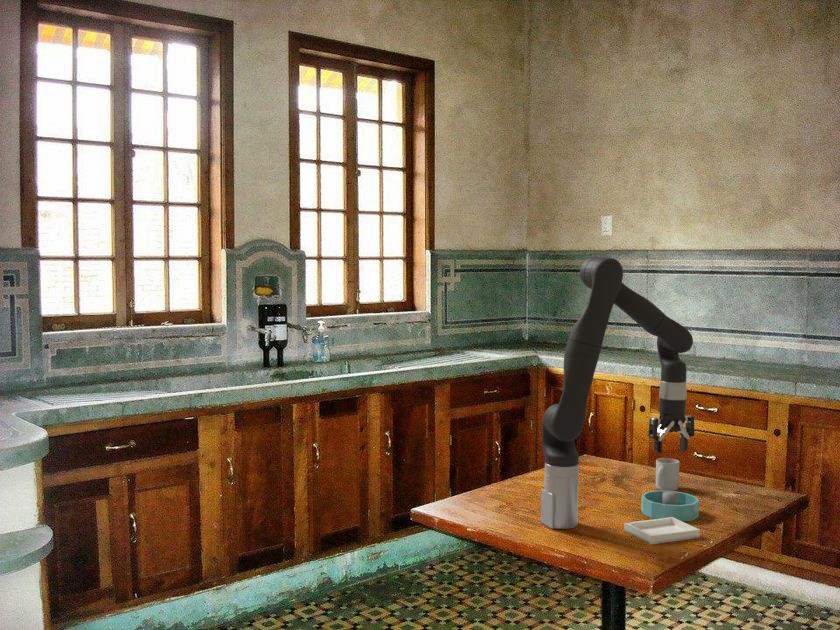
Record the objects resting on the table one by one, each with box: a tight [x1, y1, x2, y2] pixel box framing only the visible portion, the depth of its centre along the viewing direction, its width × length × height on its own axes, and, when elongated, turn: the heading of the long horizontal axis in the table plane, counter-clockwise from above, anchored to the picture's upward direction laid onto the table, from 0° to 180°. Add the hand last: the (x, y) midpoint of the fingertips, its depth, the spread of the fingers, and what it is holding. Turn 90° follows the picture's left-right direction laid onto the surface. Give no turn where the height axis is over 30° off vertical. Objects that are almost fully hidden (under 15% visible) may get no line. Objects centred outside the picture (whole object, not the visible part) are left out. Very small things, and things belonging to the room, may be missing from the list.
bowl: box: [640, 489, 700, 522], centre depth 250 cm, size 16×16×4 cm
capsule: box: [662, 491, 678, 505], centre depth 250 cm, size 4×4×5 cm
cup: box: [655, 457, 680, 491], centre depth 276 cm, size 7×10×9 cm
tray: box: [623, 517, 701, 545], centre depth 231 cm, size 16×12×2 cm
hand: (670, 452), depth 249 cm, fingers open, 8 cm apart
